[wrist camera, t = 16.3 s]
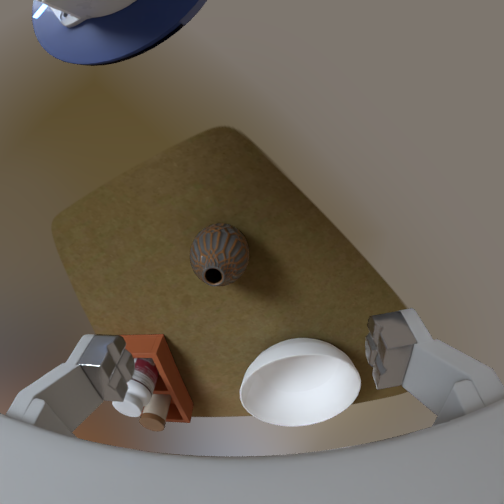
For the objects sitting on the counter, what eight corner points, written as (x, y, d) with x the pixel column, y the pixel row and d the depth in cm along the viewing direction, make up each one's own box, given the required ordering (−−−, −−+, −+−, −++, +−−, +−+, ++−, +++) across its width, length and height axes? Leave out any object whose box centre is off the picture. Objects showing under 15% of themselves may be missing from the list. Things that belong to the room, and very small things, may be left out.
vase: (189, 223, 38) (171, 254, 31) (242, 210, 38) (236, 238, 30) (206, 270, 41) (193, 308, 33) (256, 259, 40) (254, 297, 32)
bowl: (355, 381, 51) (363, 412, 44) (260, 402, 53) (259, 433, 47) (344, 306, 43) (356, 339, 37) (226, 334, 46) (221, 368, 40)
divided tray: (148, 402, 56) (143, 419, 52) (111, 334, 48) (101, 352, 43) (193, 404, 55) (190, 422, 51) (163, 334, 47) (155, 353, 43)
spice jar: (146, 389, 53) (134, 422, 45) (157, 380, 51) (146, 414, 44) (165, 400, 54) (156, 433, 47) (177, 392, 52) (169, 427, 45)
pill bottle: (134, 370, 50) (116, 416, 40) (124, 345, 47) (100, 393, 37) (166, 372, 50) (150, 422, 40) (157, 347, 47) (137, 398, 37)
